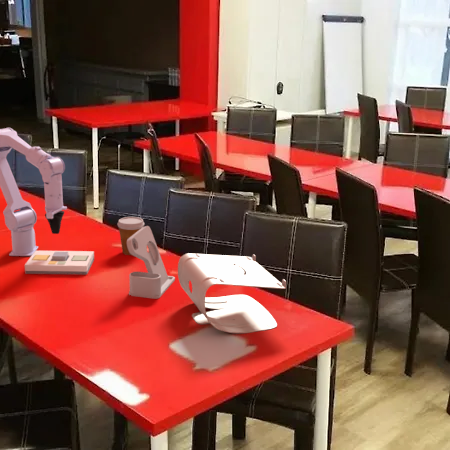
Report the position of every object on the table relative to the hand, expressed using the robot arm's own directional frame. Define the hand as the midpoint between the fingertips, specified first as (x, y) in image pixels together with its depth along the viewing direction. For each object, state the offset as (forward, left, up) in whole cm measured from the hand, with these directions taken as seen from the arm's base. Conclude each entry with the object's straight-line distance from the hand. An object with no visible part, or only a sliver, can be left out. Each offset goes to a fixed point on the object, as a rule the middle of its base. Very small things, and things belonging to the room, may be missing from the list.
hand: (55, 233), depth 218 cm
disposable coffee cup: (-11, +24, -11) cm, 28 cm away
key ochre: (+4, -5, -9) cm, 11 cm away
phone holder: (+21, +34, -11) cm, 41 cm away
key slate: (+4, +2, -8) cm, 9 cm away
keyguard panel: (+4, +2, -10) cm, 11 cm away
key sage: (+4, +9, -9) cm, 13 cm away
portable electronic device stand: (+40, +58, -11) cm, 71 cm away
